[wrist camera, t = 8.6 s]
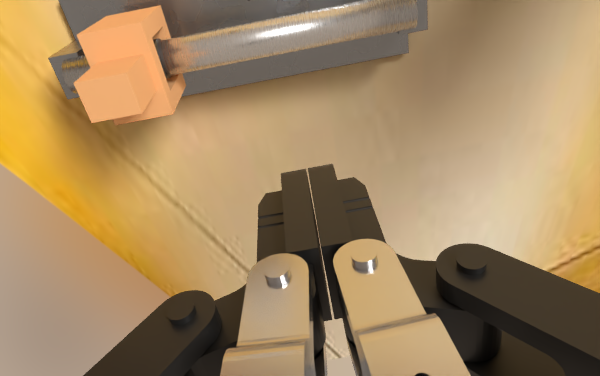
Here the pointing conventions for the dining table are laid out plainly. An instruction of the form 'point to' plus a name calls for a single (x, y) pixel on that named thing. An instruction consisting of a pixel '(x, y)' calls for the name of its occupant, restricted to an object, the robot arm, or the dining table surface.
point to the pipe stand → (252, 37)
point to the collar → (127, 69)
